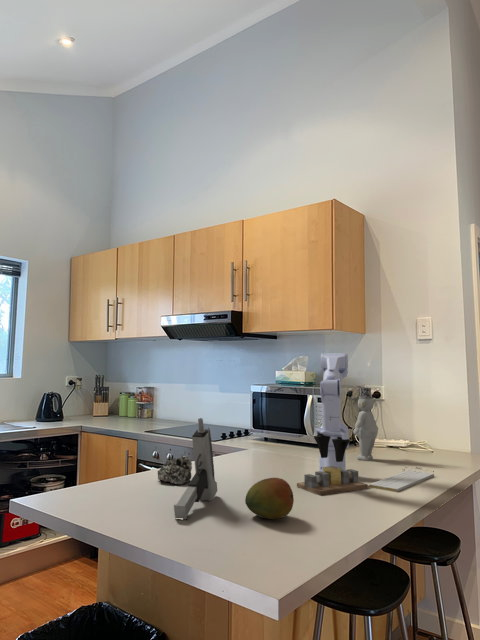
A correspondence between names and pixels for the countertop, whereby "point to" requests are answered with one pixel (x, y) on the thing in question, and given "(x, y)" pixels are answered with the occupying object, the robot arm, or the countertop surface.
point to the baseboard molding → (401, 480)
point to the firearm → (199, 473)
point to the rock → (176, 470)
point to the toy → (366, 425)
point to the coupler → (333, 475)
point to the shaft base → (322, 487)
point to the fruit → (270, 498)
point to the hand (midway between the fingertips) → (331, 459)
